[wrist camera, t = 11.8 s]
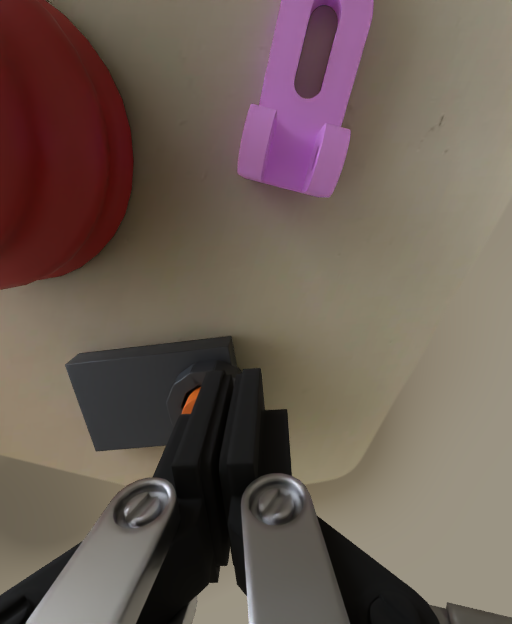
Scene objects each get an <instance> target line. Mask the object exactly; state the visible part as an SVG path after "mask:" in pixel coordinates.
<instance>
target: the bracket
mask: <svg viewBox="0 0 512 624" xmlns="http://www.w3.org/2000/svg"><path fill="white" fill-rule="evenodd" d="M322 5H327V6H330V7H331V8H333V9H334V11H335V12H336V14H337V18H338V25H337V29H336V33H335V37H334V40H333V44H332V48H331V52H330V56H329V59H328V63H327V67H326V71H325V75H324V78H323V82H322V86H321V90H320V92H319V94H318V95H316V96H315V97H313V98H310V99H306V98H302V97H301V96H299V95H298V94H297V92H296V90H295V87H294V80H295V76H296V72H297V68H298V64H299V60H300V55H301V51H302V47H303V43H304V39H305V34H306V30H307V26H308V22H309V18H310V15H311V13H312V12H313V11H314V10H315V9H316V8H317V7H319V6H322ZM372 16H373V0H281V4H280V9H279V14H278V18H277V23H276V28H275V33H274V37H273V42H272V47H271V51H270V56H269V61H268V65H267V70H266V75H265V79H264V84H263V89H262V93H261V98H260V103H259V105H256V104H251V105H250V108H249V110H248V114H247V117H246V121H245V125H244V129H243V134H242V139H241V144H240V150H239V157H238V168H237V172H238V174H239V175H240V176H242V177H244V178H245V179H249V180H253V181H257V182H261V183H265V184H269V185H273V186H276V187H280V188H284V189H288V190H292V191H296V192H300V193H304V194H307V195H311V196H315V197H330V196H331V194H332V193H333V191H334V189H335V186H336V184H337V182H338V179H339V176H340V174H341V171H342V168H343V165H344V161H345V158H346V154H347V151H348V146H349V142H350V135H351V131H350V129H346V128H342V127H341V125H342V121H343V118H344V114H345V111H346V107H347V104H348V101H349V97H350V94H351V90H352V87H353V83H354V80H355V76H356V73H357V70H358V66H359V63H360V59H361V56H362V52H363V49H364V45H365V42H366V38H367V35H368V32H369V28H370V25H371V21H372Z"/></svg>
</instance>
